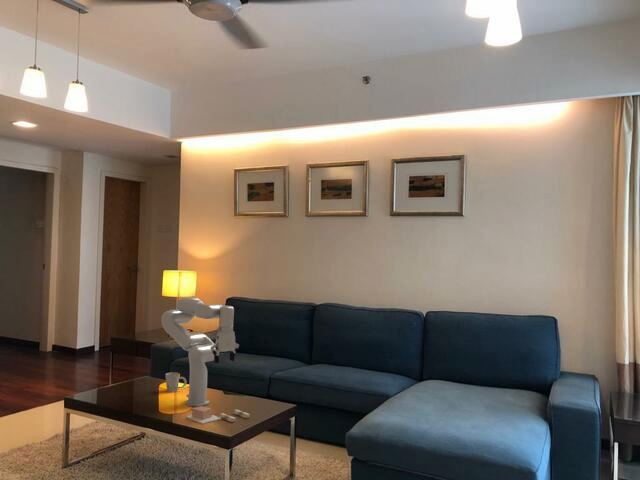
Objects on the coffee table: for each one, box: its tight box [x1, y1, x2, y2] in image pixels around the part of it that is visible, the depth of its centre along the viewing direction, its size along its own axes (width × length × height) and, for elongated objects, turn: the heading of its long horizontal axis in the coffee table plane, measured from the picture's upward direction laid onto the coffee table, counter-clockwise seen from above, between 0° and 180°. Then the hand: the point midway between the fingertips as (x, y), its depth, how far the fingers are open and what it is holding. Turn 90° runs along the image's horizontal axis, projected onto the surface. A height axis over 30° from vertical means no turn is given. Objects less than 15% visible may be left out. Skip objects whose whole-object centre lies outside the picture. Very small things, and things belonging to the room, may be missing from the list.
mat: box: [185, 414, 222, 425], centre depth 257 cm, size 14×11×1 cm
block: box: [191, 406, 213, 420], centre depth 258 cm, size 8×6×4 cm
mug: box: [164, 371, 187, 393], centre depth 308 cm, size 8×13×10 cm, turn 96°
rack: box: [218, 409, 251, 424], centre depth 260 cm, size 11×11×2 cm
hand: (224, 361), depth 272 cm, fingers open, 9 cm apart
